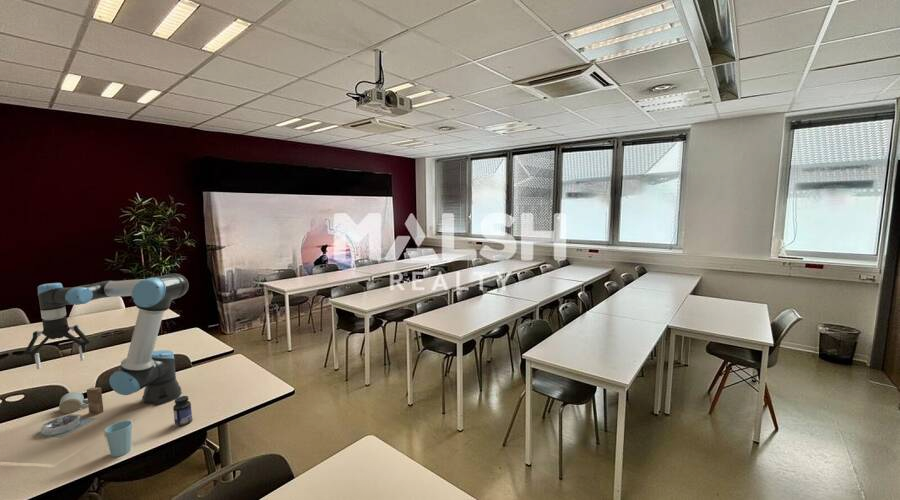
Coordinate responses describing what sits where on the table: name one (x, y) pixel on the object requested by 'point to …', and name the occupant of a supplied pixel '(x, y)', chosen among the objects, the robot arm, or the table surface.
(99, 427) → the table surface
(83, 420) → the slate board
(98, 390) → the brown wooden block
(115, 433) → the cup
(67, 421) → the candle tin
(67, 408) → the ceramic mug
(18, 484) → the table surface
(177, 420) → the pill bottle
